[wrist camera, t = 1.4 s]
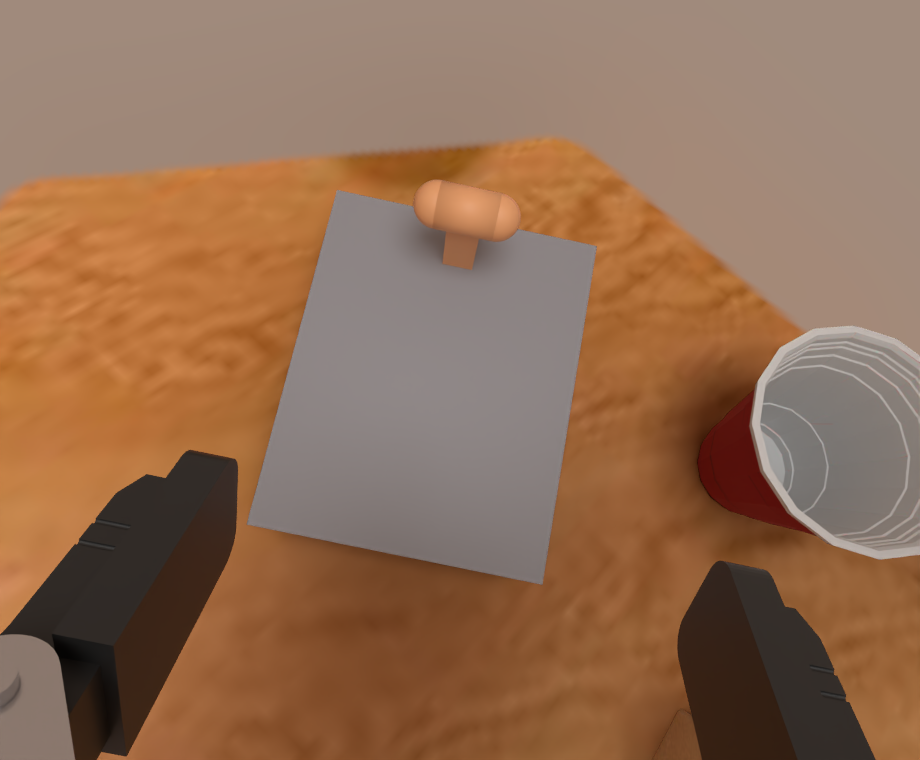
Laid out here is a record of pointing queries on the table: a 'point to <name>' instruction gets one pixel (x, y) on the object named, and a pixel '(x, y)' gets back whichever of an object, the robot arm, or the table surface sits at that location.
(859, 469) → the plastic cup
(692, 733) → the sandwich container
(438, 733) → the table surface
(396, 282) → the carton lid
